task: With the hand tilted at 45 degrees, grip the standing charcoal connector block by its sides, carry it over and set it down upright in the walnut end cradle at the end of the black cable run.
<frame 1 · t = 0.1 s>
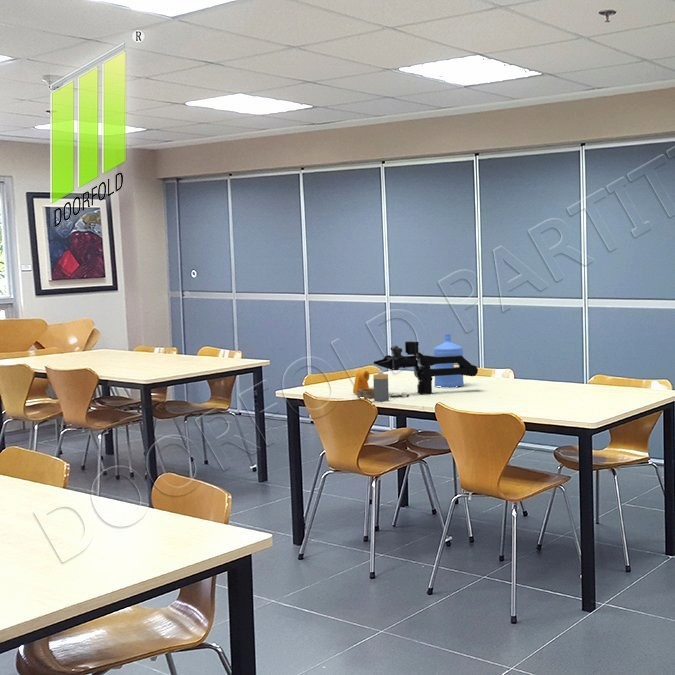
hand: (375, 363, 464), 17 cm above the table, tool horizontal, fingers open, 9 cm apart
end cradle: (369, 397, 460), on the table
connector: (381, 401, 446), on the table
water jug: (449, 386, 497), on the table
orange rounded lump: (365, 394, 475), on the table
cable run: (393, 396, 459), on the table
cable clips: (396, 395, 459), on the table
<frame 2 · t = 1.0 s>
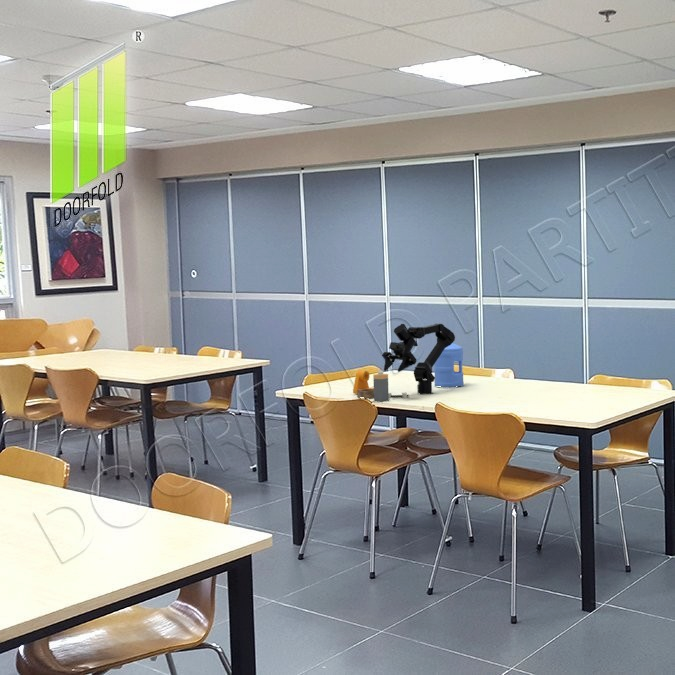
hand: (391, 370, 451), 14 cm above the table, tool tilted 45°, fingers open, 9 cm apart
nothing on the table moved.
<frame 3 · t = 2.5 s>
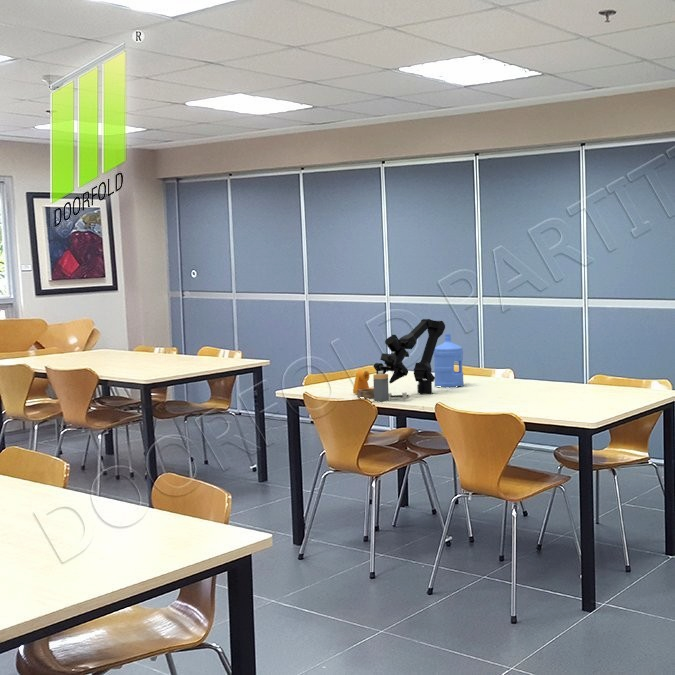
hand: (382, 382, 446), 9 cm above the table, tool tilted 45°, fingers open, 9 cm apart
nothing on the table moved.
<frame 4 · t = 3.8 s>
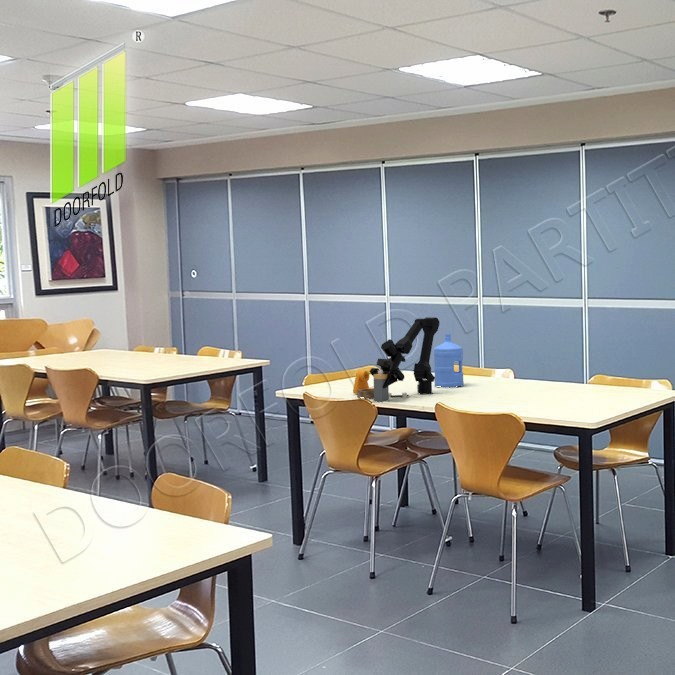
hand: (379, 387, 445), 7 cm above the table, tool tilted 45°, fingers closed on connector, 5 cm apart
connector: (381, 400, 446), on the table, touching gripper
everything else where it was.
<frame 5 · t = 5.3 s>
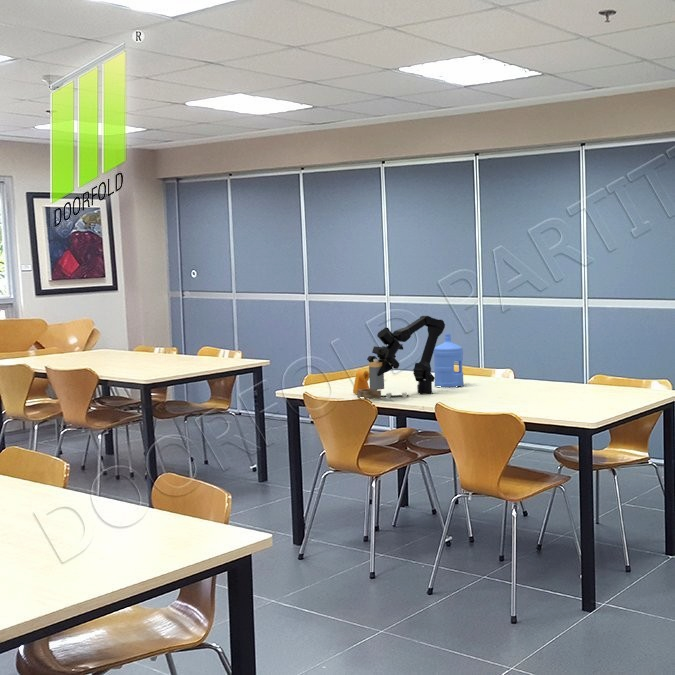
hand: (374, 375, 448), 12 cm above the table, tool tilted 45°, fingers closed on connector, 5 cm apart
connector: (377, 389, 449), point 5 cm above the table, touching gripper
everything else where it was.
when the fingers open (9 cm above the table, at t = 7.1 s): connector stays where it is, resting on end cradle.
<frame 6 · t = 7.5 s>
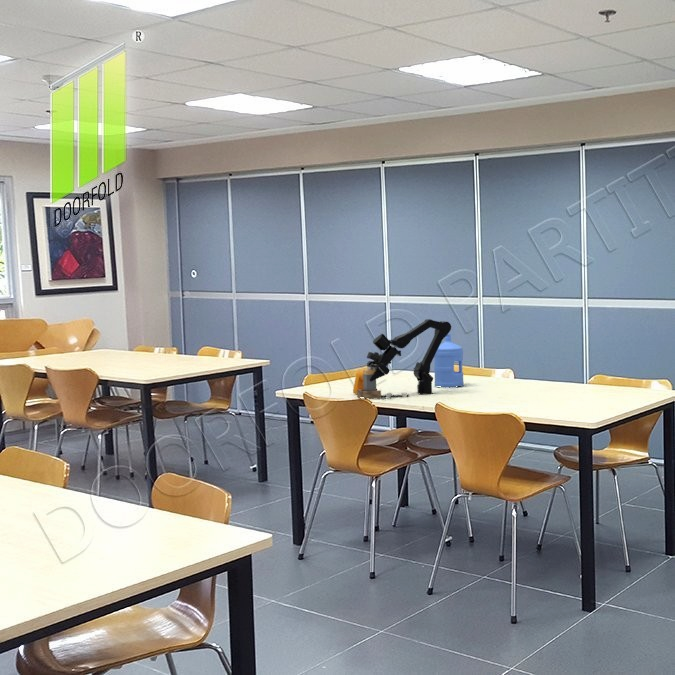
hand: (367, 380, 459), 9 cm above the table, tool tilted 45°, fingers open, 9 cm apart
connector: (370, 395, 460), point 1 cm above the table, touching end cradle
everything else where it was.
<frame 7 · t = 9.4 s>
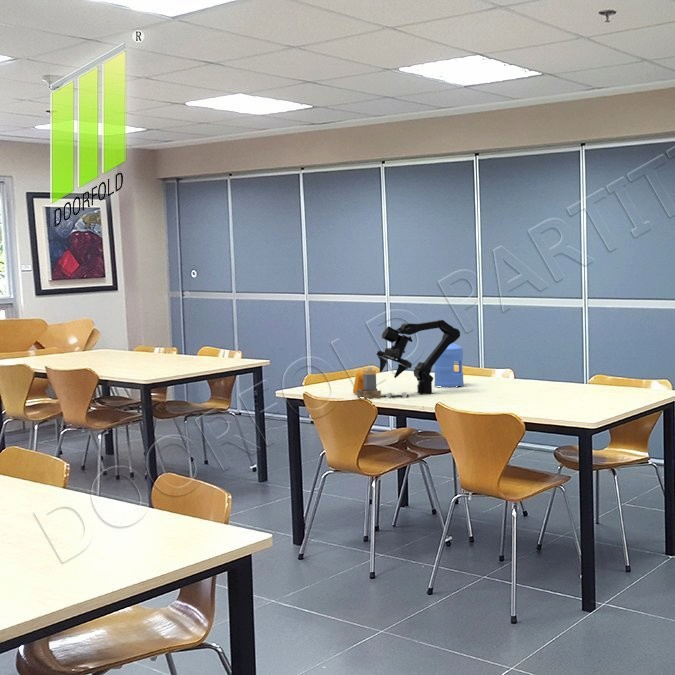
hand: (387, 375, 462), 11 cm above the table, tool tilted 25°, fingers open, 9 cm apart
nothing on the table moved.
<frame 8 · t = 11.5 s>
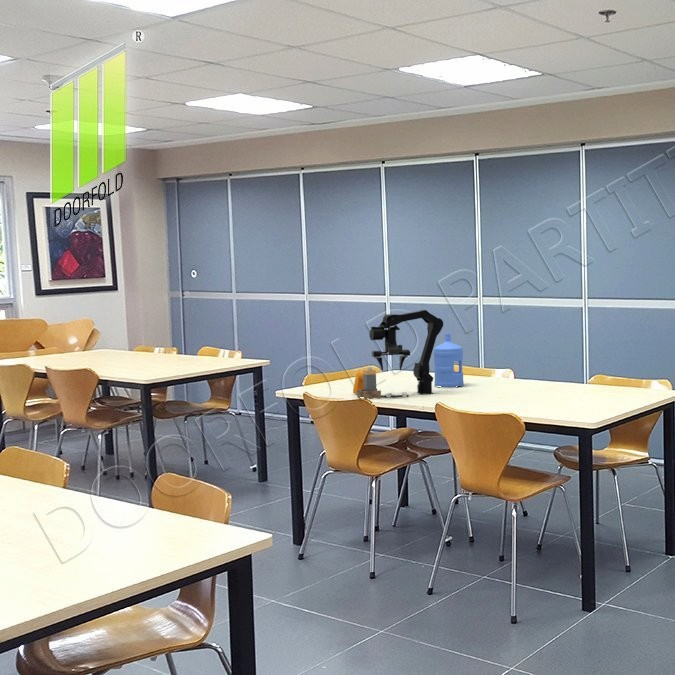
hand: (391, 370, 462), 13 cm above the table, tool pointing down, fingers open, 9 cm apart
nothing on the table moved.
at the end: connector 0.6 cm from the end cradle (horizontally); connector tilted 0°; the gripper is holding nothing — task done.
